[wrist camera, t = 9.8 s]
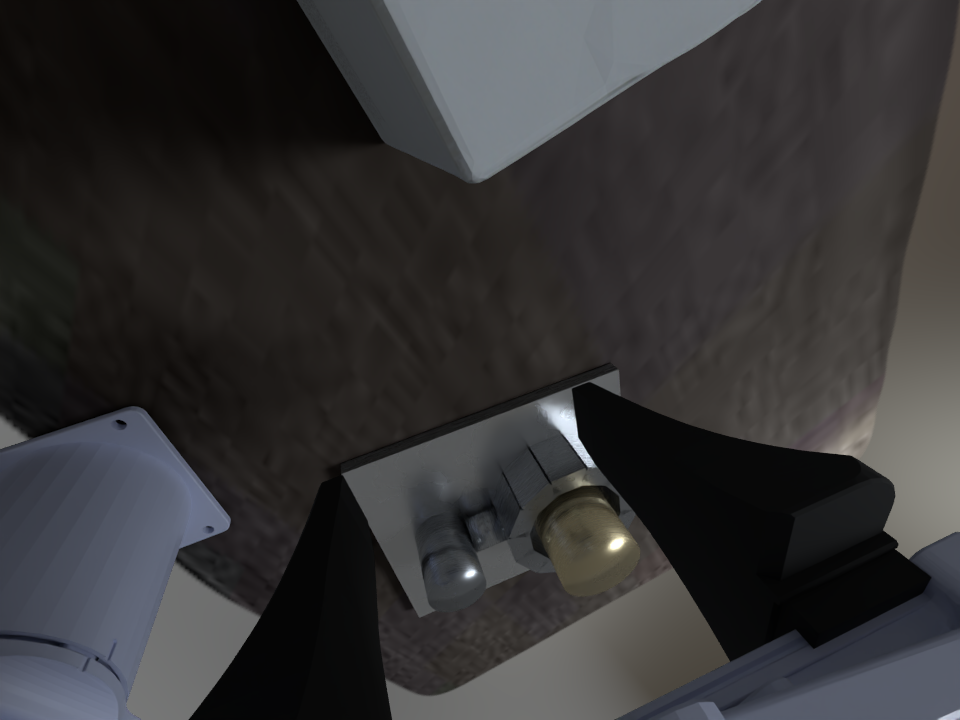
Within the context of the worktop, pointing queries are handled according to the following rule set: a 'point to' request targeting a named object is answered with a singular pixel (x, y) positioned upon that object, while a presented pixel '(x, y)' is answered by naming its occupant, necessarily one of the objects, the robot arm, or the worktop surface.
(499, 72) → the small box
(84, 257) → the worktop surface
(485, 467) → the manifold plate
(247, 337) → the worktop surface
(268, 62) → the worktop surface
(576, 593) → the brass rounded plug
